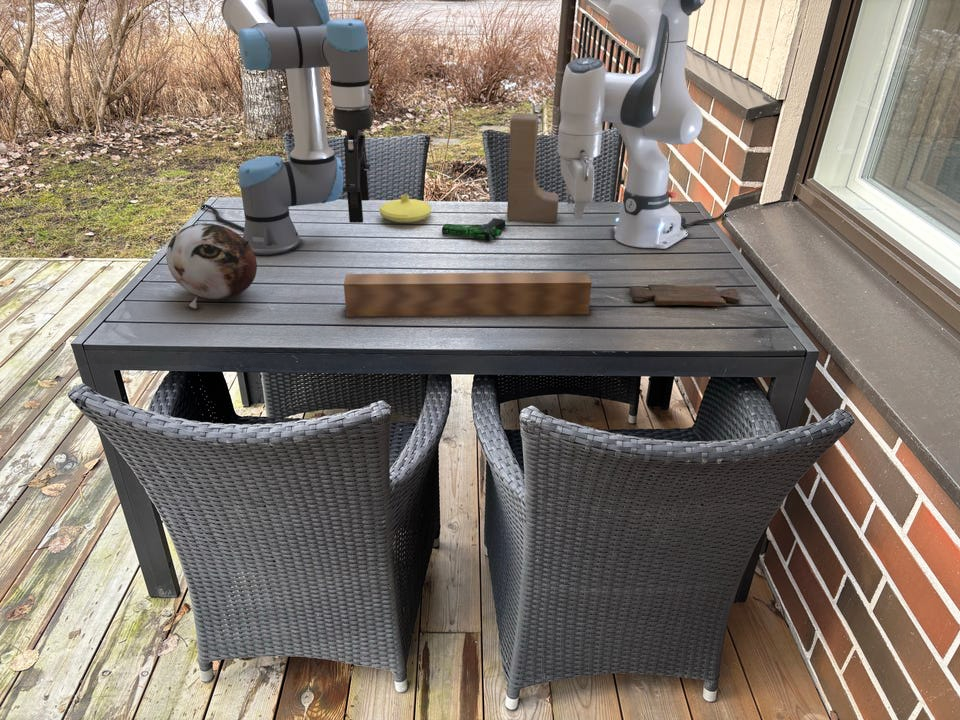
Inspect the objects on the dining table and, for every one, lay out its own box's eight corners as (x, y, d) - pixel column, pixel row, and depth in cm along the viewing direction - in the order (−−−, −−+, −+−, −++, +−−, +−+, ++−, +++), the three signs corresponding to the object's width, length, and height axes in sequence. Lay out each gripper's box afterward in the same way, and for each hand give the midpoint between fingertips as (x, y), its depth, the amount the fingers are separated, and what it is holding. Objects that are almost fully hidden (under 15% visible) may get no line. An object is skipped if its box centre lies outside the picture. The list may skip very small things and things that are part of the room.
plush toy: (130, 285, 161) (164, 203, 163) (192, 308, 177) (221, 233, 178) (195, 307, 151) (229, 220, 152) (254, 330, 166) (285, 250, 168)
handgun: (511, 219, 210) (493, 234, 198) (511, 228, 211) (492, 244, 199) (461, 212, 215) (440, 226, 203) (461, 221, 217) (440, 236, 204)
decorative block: (556, 223, 215) (563, 120, 199) (506, 220, 216) (510, 118, 201) (557, 215, 221) (564, 114, 206) (509, 212, 223) (512, 112, 207)
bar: (346, 316, 161) (343, 284, 157) (349, 305, 166) (346, 273, 162) (588, 314, 164) (591, 282, 160) (584, 303, 169) (587, 272, 164)
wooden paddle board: (744, 309, 167) (732, 291, 176) (746, 303, 166) (734, 285, 175) (634, 305, 167) (627, 287, 176) (635, 299, 167) (628, 281, 175)
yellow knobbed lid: (403, 206, 226) (402, 184, 222) (442, 217, 218) (442, 194, 215) (368, 220, 215) (367, 197, 211) (408, 231, 207) (407, 208, 203)
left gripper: (365, 121, 130) (372, 232, 141) (376, 94, 151) (381, 191, 162) (324, 121, 130) (334, 232, 141) (340, 93, 151) (348, 191, 162)
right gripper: (604, 158, 138) (598, 227, 145) (585, 132, 155) (580, 194, 162) (572, 159, 137) (567, 227, 144) (556, 132, 155) (553, 195, 162)
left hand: (359, 210), depth 152 cm, fingers open, 13 cm apart
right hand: (574, 209), depth 153 cm, fingers open, 8 cm apart
